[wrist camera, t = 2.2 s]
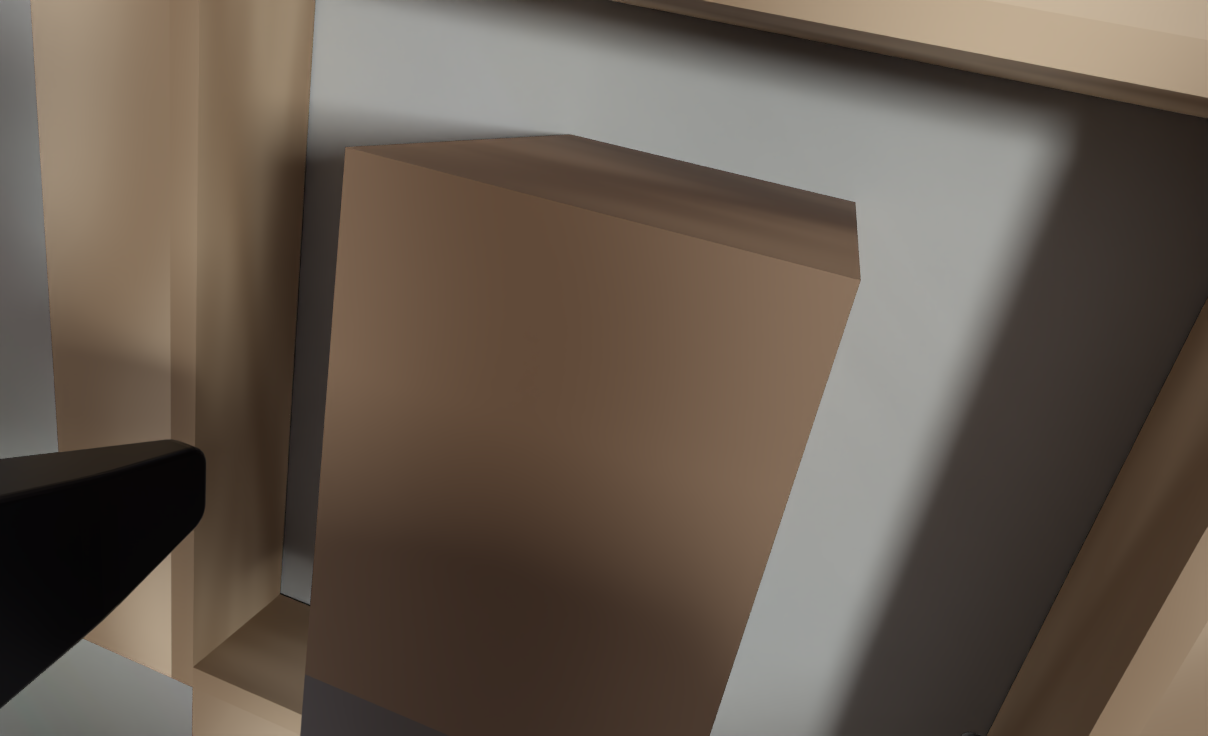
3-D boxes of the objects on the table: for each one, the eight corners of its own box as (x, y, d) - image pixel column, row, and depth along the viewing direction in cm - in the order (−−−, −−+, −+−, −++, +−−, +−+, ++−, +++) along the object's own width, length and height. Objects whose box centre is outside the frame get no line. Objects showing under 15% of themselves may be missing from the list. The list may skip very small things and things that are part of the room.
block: (855, 202, 11) (859, 279, 6) (705, 675, 15) (618, 1011, 9) (570, 134, 12) (345, 146, 7) (488, 593, 15) (291, 853, 10)
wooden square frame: (1768, -99, 8) (2143, -189, 6) (1032, 1027, 15) (1066, 1195, 12) (164, -305, 12) (5, -404, 10) (169, 651, 19) (75, 725, 17)
